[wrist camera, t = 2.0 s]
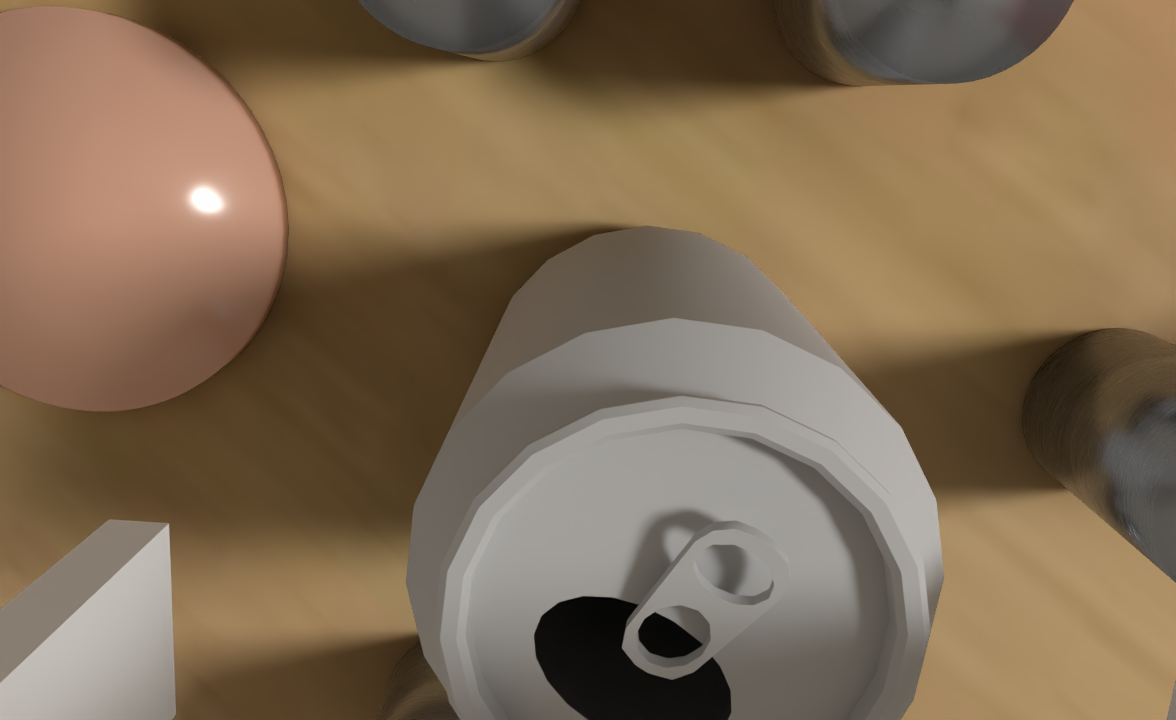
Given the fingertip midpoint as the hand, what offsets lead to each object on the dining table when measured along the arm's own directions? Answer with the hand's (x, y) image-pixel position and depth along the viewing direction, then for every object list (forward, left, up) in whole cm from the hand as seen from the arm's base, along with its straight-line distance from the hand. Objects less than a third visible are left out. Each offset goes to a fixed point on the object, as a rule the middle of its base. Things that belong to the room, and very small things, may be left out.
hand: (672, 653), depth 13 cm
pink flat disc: (-3, -13, -12) cm, 18 cm away
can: (0, 0, -12) cm, 12 cm away
